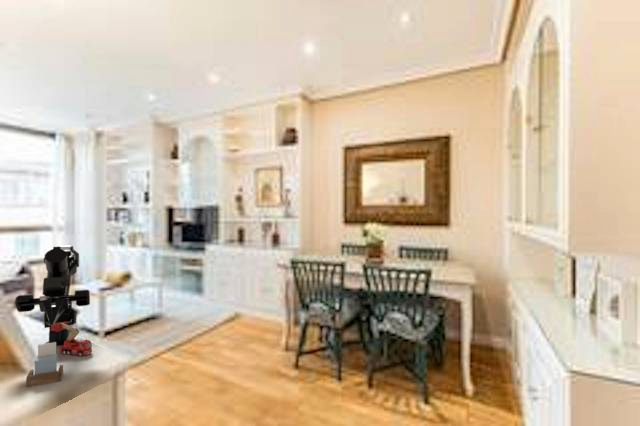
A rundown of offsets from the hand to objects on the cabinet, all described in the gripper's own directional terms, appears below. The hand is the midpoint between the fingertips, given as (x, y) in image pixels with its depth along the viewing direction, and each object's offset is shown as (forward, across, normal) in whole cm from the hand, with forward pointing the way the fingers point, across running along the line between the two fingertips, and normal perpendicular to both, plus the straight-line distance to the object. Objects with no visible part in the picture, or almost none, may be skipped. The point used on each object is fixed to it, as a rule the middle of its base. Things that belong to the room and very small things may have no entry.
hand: (51, 324), depth 110 cm
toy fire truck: (+2, +4, +16) cm, 17 cm away
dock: (+13, 0, +4) cm, 14 cm away
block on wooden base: (+16, 0, +2) cm, 16 cm away
